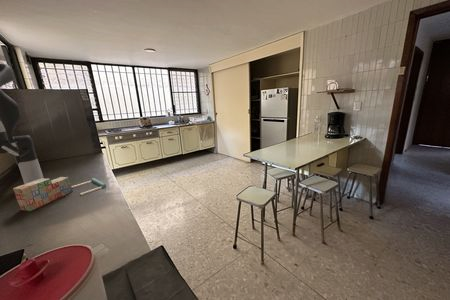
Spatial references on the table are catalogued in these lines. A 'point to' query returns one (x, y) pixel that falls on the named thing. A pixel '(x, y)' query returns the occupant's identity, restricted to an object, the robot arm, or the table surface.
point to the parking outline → (92, 189)
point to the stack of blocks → (41, 192)
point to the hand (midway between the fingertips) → (4, 166)
